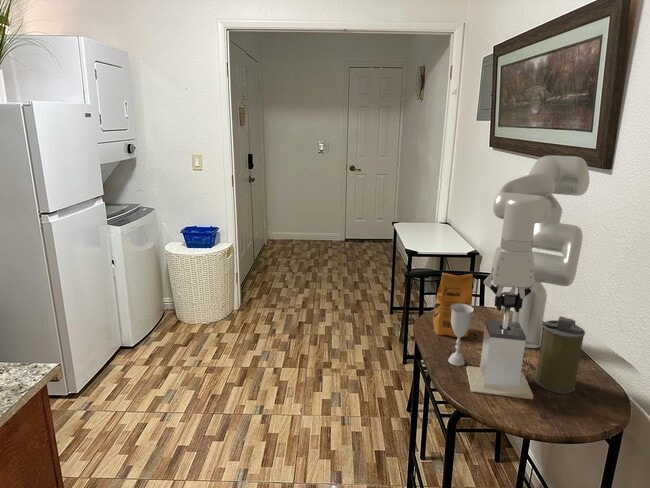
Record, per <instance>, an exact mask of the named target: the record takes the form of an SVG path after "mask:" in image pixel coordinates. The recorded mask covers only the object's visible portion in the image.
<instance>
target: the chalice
mask: <svg viewBox="0 0 650 488" xmlns="http://www.w3.org/2000/svg"><path fill="white" fill-rule="evenodd" d="M451 310H452V314H451V325H452V329H453V331H454V334H455V335H456V336H457V337H456V338H457V339H456V341H455V343H456V345H455V346H454V348H455V350H456V351H455V352H452V353H451V355H450V356H449V358H448V359H447V361H448V363H450V364H451V365H454V366H459V367H460V366H464V365H465V363H466V362H465V358H464V356H463V355H462V353H460V350H461V349H462V348H461V343H462V341H461V338H463V336H464V335H465V333H466V332H467V330H468V329H469V330H470V327H471V321H472V313H474V307H472V305H471V306H469V305H466V304H459V303H457V304H452V305H451Z"/></svg>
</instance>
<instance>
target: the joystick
mask: <svg viewBox="0 0 650 488" xmlns="http://www.w3.org/2000/svg"><path fill="white" fill-rule="evenodd" d="M502 326H503V320H493V319H485V321H484V331H483V340H482V346H481V347H482V348H481V354H480V356H481V357H480V364H479V366H472V365H471V366H470V365H467V366H466V368H465V369H466V373H467V377H468V378H467V379H468V383H469V388H470V392H471V393H480V394H486V395H494V396H501V397H502V396H503V397H511V398H519V399H526V400H527V399H528V400H533V399H534V394H533V391H532V389H531V388H530V385H529V383H528V380H527V378H526V376H525V374H524V372H522V369H523V360H524V353H525V348H526V347H525V341H526V336H525V334H524V332H523V330H522V328H521V326H520V324H519V323H516V322H512V321H509V323H508V330H503V329H502Z"/></svg>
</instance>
